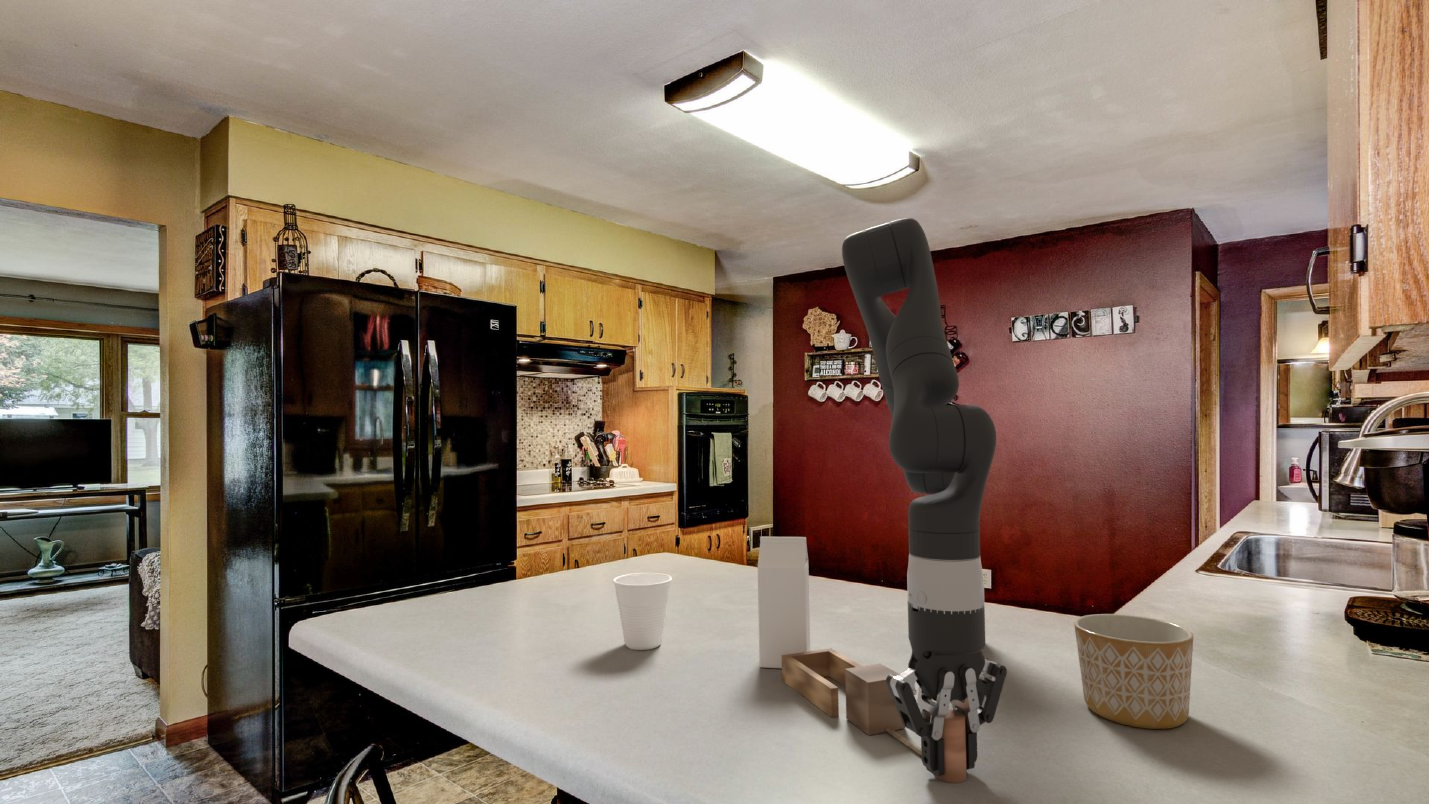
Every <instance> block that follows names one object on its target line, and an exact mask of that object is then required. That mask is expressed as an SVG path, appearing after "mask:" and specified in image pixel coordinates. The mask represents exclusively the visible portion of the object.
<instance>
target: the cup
mask: <svg viewBox="0 0 1429 804" xmlns="http://www.w3.org/2000/svg"><path fill="white" fill-rule="evenodd" d="M672 580H673V578H672V576H671V575H669V574H665V573H660V572H659V573H657V572H637V573H636V572H634V573H628V574H626V573H625V574H623V575H619V576H616V577H614V578H613V579H612V583H613V584H614V589H615V595H616V599H617V600H616V602H617V604H618V605H617V606H618V611H619V616H620V617H619V618H620V622H621V629H622V634H623V640H624V641H623V642H624V645H625V646H626V647H627V648H628V649H631V650H635V651H645V650H652V649H656V648H658V647H659V646H660V645H661V644H662V643H663V638H664V637H663V635H664V628H665V621H666V620H665V619H666V615H667V608H668V601H669V596H670V595H669V594H670V587H671V582H672Z"/></svg>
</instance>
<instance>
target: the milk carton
mask: <svg viewBox="0 0 1429 804" xmlns="http://www.w3.org/2000/svg"><path fill="white" fill-rule="evenodd" d="M759 541H760V542H759V552H758V559H757V560H758V561H757V598H758V599H757V600H758V601H757V603H758V605H757V606H758V607H757V609H758V651H759V652H758V657H759V667H760V668H766V669H767V668H769V669H782V657H781V655H787V654H794V653H801V652H808V651H811V623H810V620H811V619H810V617H811V616H810V614H811V613H810V582H809V581H810V579H809V578H810V576H809V575H810V573H809V555H808V546H807V537H806V536H759Z"/></svg>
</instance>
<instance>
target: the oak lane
mask: <svg viewBox="0 0 1429 804" xmlns="http://www.w3.org/2000/svg"><path fill="white" fill-rule="evenodd" d="M781 657H782V668H781V681H782V682H783V683H785V684H786V685H787V686H789V687H790V688H792V689H793V690H794V691H795V692H797V693H798V694H800V695H801V696H802V697H804V698H805V699H806V700H808V701H809V702H811V704H813V705H815V706H816V707H817V708H819V709H820V710H821V711H823V712H824V713H825V714H827V716H829V717H830V718H837V717H840V708H839V704H840V703H839V687H838V686H836V685H835V683H834V684H833V683H832V682H830V681H829V680H828V679H826V678H824V677H830V678H832V679H833V680H835V681H836V682H838V683H839V684H840V685H843V686H844V687H846V681H845V669H847V668H854V667H860V666H862V664H860V663H858V662H856V661H854V660H852V659H851V658H849V657H847V656H845V655H844V654H841V653H840V652H838V651H836V650H835V649H833V648H831V647H830V648H824V649H817V650H810V651H808V652H801V653H794V654H787V655H781Z"/></svg>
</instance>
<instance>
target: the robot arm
mask: <svg viewBox="0 0 1429 804" xmlns="http://www.w3.org/2000/svg"><path fill="white" fill-rule="evenodd" d="M927 239H928V238H927V236H926V233H925V231H924V229H923V227H922V226H921V224H920V222H919V221H917V219H914V218H912V217H905V218H904V217H903V218H899V219H895V220H892V221H891V220H890V221H889V222H885V223H883V224H879V225H876V226H872V227H869V228H866V229H863V230H860V231H857V232H854V233H851V234H849V235H848V236H846V237H845V238H844V240H843V242H842V246H841V255H842V256H841V257H842V262H843V266H844V270H845V273H846V276H847V280H848V282H849V286H850V288H851V290H852V293H853V296H854V300H855V301H856V304H857V307H858V310H859V313H860V315H861V317H862V321H863V324H864V325H865V329H866V332H867V335H868V339H869V342H870V346H871V350H872V353H873V358H874V361H875V366H876V370H877V374H878V378H879V382H880V385H881V387H882V388H881V389H882V392H883V394H884V398H885V400H886V403H887V406H888V410H889V413H890V415H891V423H890V424H891V425H890V430H889V436H888V437H889V438H888V448H889V452H890V455H891V458H892V460H893V461H894V463H895V464H896V465H897V466H898V467H899V468H901V470H903V473H904V474H903V475H904V478H905V481H906V483H907V484H906V485H907V486H908V488H909V489H910V490H911V491H912V492H913V493H916V494H920V495H922V496H920V497H917V498H915V499H913V500H912V501H911V502H910V504H909V506H908V511H907V512H908V513H907V514H908V516H907V517H908V518H907V520H908V521H907V523H908V553H909V554H908V566H907V572H906V573H907V574H906V578H907V579H906V581H907V583H906V584H907V585H906V587H907V618H908V619H907V623H908V627H907V628H908V629H907V630H908V634H907V635H908V640H909V644H910V647H911V655H910V659H909V660H908V663H907V664H908V665H907V667H908V668H907V669H905V670H904V671H902V672H901V673H899V675H898V676H895V675H893V674H890V675H888V676H887V678H886V684H887V686H888V688H889V691H890V693H891V696H892V698H893V701H894V703H895V706H896V708H897V711H898V713H899V716H900V718H901V721H902V723H903V725H904V726H905V729H908V730H910V731H912V732H913V733H915V735H917V736H918V737H920V742H921V743H920V745H921V747H920V748H921V750H922V751H921V754H922V756H921V762H922V765H923V766H924V767H925V768H926V770H927V771H928V772H929V773H931V774H932V775H934V777H935V776H937V777H938V776H942V775H944V773H945V770H944V739H942V738H941V737H942V732H943V724H944V718H945V717H946V716H948V712H949V709H950V704H951V706H952V710H955V711H958V712H961V713H962V714H964V716H965V733H966V771H967V770H968V771H969V770H973V769H975V767H976V766H975V765H976V762H977V759H978V735H977V734H978V732H979V731H980V729H981V726H982V725H983V724H985V723H987V724H991V723H992V722H993V720H994V718H995V714H996V711H997V707H998V704H999V700H1000V697H1001V693H1002V691H1003V688H1004V683H1005V680H1006V676H1007V673H1008V670H1007V669H1008V668H1007V667H1006V666H1005V665H1002V664H1000V663H997V662H996V661H993V660H990V659H988V658H985V656H984V654H983V652H982V650H983V649H984V648H985V647H986V613H985V612H986V610H985V583H984V581H985V580H984V573H983V567H982V561H981V560H982V559H981V537H980V536H981V535H980V534H981V533H980V529H981V527H980V526H981V525H980V518H981V509H982V506H983V505H982V504H983V499H984V494H985V489H986V484H987V481H988V477H989V473H990V470H991V468H992V467H991V466H992V463H993V460H994V457H995V451H996V447H997V431H996V425H995V424H994V421H993V419H992V417H991V416H990V414H989V413H988V412H987V411H986V410H985V409H984V408H982V407H981V406H978V405H974V404H949V403H950V402H952V400H953V399H955V397H957V396H956V395H957V394H958V391H959V388H960V380H959V375H958V371H957V369H956V366H955V362H954V359H953V357H952V356H953V355H952V353H951V350H950V348H949V344H948V341H947V337H946V333H945V330H944V324H943V319H942V311H941V304H940V297H939V289H938V284H937V277H936V273H935V272H936V271H935V266H934V263H933V262H934V261H933V259H932V253H931V250H930V249H931V248H930V245H929V243H928V240H927ZM905 290H908V293H907V296H906V298H905V300H904V301H903V304H902V306H901V307H900V309H899V311H898V313H897V314H896V315H895V314H894V313H893V312H892V311H891V310H890V309H889V307H888V306H887V304H886V303H885V302H884V301H883V300H882V297H883V296H887V295H891V294H894V293H897V292H900V291H905ZM923 495H924V496H923ZM916 684H917V685H918V691H917V690H916V686H915V685H916ZM916 695H917V699H916V697H915V696H916ZM984 700H985V701H984ZM983 703H984V705H983ZM937 777H936V778H937Z"/></svg>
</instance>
